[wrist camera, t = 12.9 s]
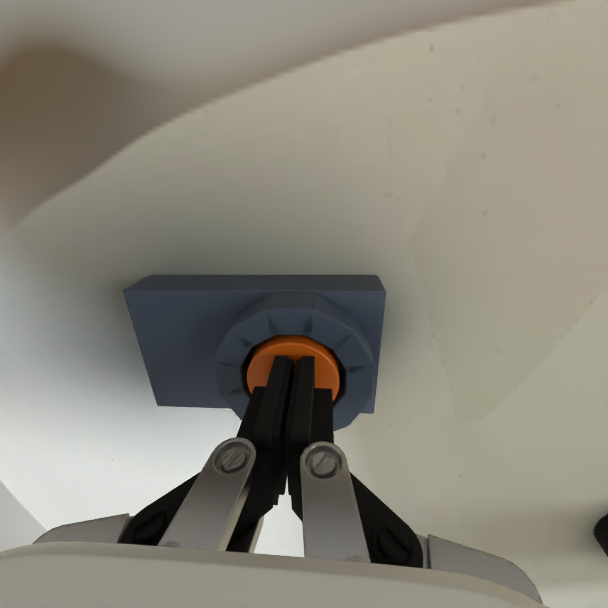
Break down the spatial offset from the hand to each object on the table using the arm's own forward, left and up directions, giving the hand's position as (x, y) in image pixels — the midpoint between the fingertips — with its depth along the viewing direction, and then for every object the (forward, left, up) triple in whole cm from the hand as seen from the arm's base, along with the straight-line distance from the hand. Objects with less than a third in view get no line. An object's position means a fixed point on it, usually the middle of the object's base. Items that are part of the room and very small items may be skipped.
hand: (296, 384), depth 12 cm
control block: (-2, 0, -4) cm, 5 cm away
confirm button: (0, 0, -2) cm, 2 cm away
